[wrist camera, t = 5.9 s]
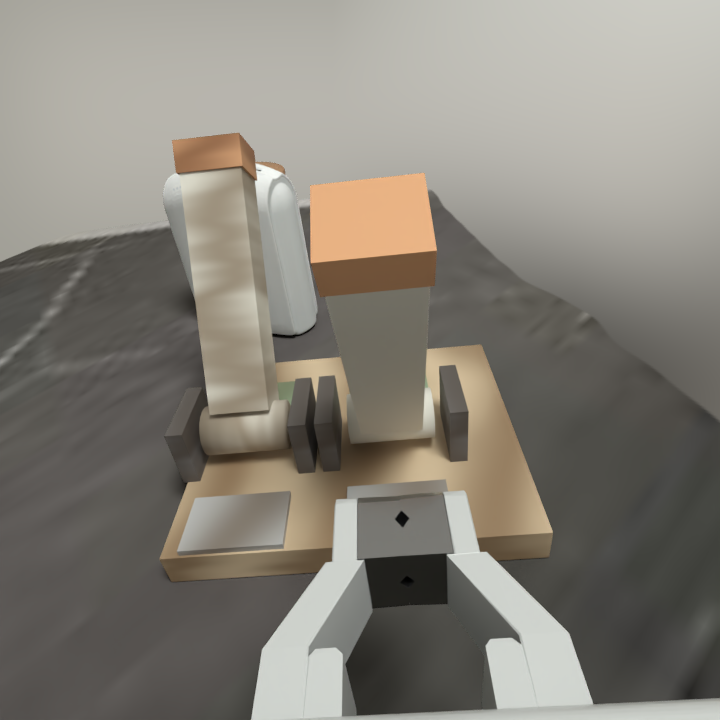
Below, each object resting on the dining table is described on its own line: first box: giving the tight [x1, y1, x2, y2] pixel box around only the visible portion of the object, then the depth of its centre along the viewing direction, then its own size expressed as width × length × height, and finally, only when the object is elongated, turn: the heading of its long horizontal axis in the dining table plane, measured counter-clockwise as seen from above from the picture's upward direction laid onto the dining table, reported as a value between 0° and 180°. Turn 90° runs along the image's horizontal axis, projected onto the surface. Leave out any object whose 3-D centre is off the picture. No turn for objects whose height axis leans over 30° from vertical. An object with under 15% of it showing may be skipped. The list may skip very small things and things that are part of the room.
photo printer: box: [163, 163, 317, 335], centre depth 37 cm, size 10×4×12 cm, turn 64°
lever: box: [310, 173, 437, 444], centre depth 19 cm, size 4×3×15 cm, turn 90°
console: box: [160, 133, 553, 582], centre depth 23 cm, size 16×14×16 cm
